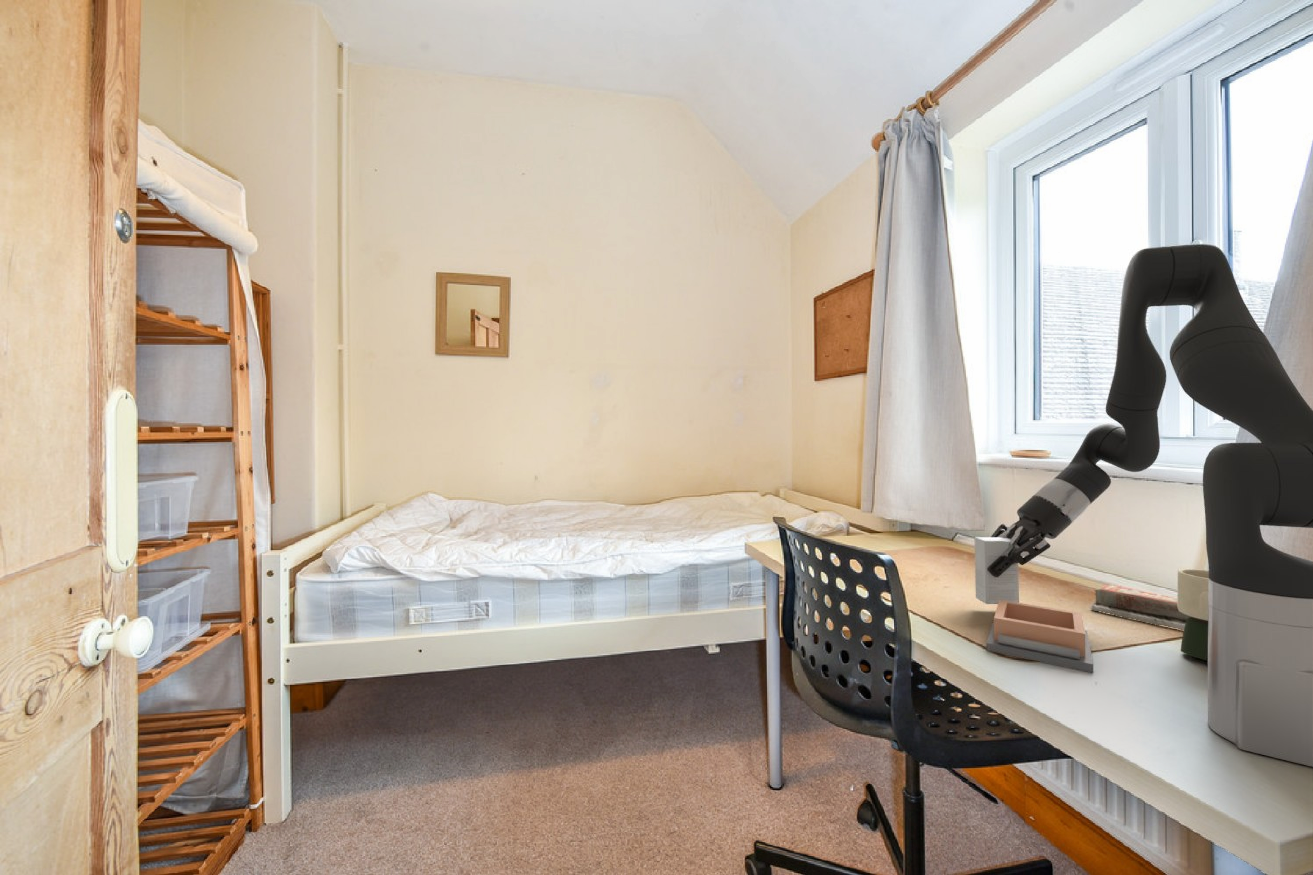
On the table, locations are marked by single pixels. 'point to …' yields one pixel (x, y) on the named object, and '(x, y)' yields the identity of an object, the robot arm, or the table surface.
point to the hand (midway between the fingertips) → (985, 570)
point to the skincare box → (985, 582)
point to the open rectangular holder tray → (1041, 635)
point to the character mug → (1194, 611)
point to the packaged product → (1139, 606)
